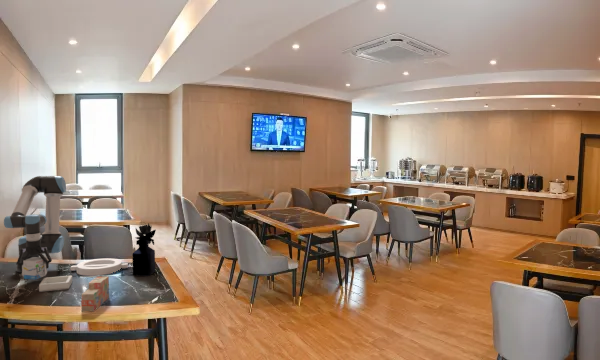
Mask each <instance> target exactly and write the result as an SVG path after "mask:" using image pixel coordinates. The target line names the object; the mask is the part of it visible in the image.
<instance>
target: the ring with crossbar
mask: <svg viewBox="0 0 600 360" xmlns="http://www.w3.org/2000/svg"><path fill="white" fill-rule="evenodd" d="M122 262H123V261H122V260H121V259H119V258H110V257H109V258H107V257H106V258H94V259H93V258H92V259H89V260H85V261H81V262H78V263H77V264H75V265H71V266H70V271H76V275H80V276H88V277H89V276H91V277H92V276H96V277H97V276H103V275H105V276H106V275H109V274H113V272H114V273H116V271H117V272H119V271H121V270H122V269H127V268H129V263H128V262H126V263H122ZM121 268H122V269H121ZM120 269H121V270H120ZM118 270H119V271H118Z"/></svg>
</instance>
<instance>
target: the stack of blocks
mask: <svg viewBox="0 0 600 360" xmlns="http://www.w3.org/2000/svg"><path fill="white" fill-rule="evenodd" d="M80 299H81V300H80V301H81V303H80V305H81V306H80V307H81V309H80V310H81V312H82V311H93V312H95V311H96V310H97V309H98V308H99V307H100V306H102V304H104V303H105V302H106V301H107V300H108V299H110V283H109V276H106V275H105V276H103V275H102V276H96V277H94V278H93V279H92V280H90V281H89V282H88V289H86V290H85V291H83V292H82V293H81V298H80ZM96 308H97V309H96ZM95 309H96V310H95ZM94 310H95V311H94Z"/></svg>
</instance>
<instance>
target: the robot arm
mask: <svg viewBox="0 0 600 360" xmlns="http://www.w3.org/2000/svg"><path fill="white" fill-rule="evenodd" d="M66 191H67V184H66V180H65V178H64V177H63V176H62V175H61V176H60V175H38V176H35V177H32V178H30V179H29V180H28V181H27V182H25V183H24V185H23V186H22V188H21V194H20V196H19V199H18V200H17V203H16V205H15V207H14V209H13V211H12V213H11V214H10V215H6V216H5V217H4V218H3V226H4V227H5V228H6V229H23V228H24V229H25V236H22V237H20V238H18V244H17V246H18V258H17V261H16V263H15V264H16V267H15V272H17V273H21V275H22V277H24V265H23V260H26V259H29V258H32V257H41V258H42V259H43V261H44V262H45V264H44V265H45V274H46V275H47V274H48V269H49V266H50V263H52V261H53V260H52V259H53V258H51V256H50V254H58V253H59V254H60V253H61V251H62V250H63V248H64V245H65V237H64V235H62V232H60V214H61V213H60V211H61V210H60V209H61V197H63V195H64V193H66ZM39 193H41V194H42V193H43V195H44V196H45V199H46V200H45V215H44V214H41V213H40V214H39V213H38V214H35V213H34V214H28V212H29V209H30V207H31V205H32V204H33V200H34V198H35V197H36V196H37V195H38V194H39ZM43 226H44V231H43V232H42V233H41V227H43ZM44 254H45V255H44Z"/></svg>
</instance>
